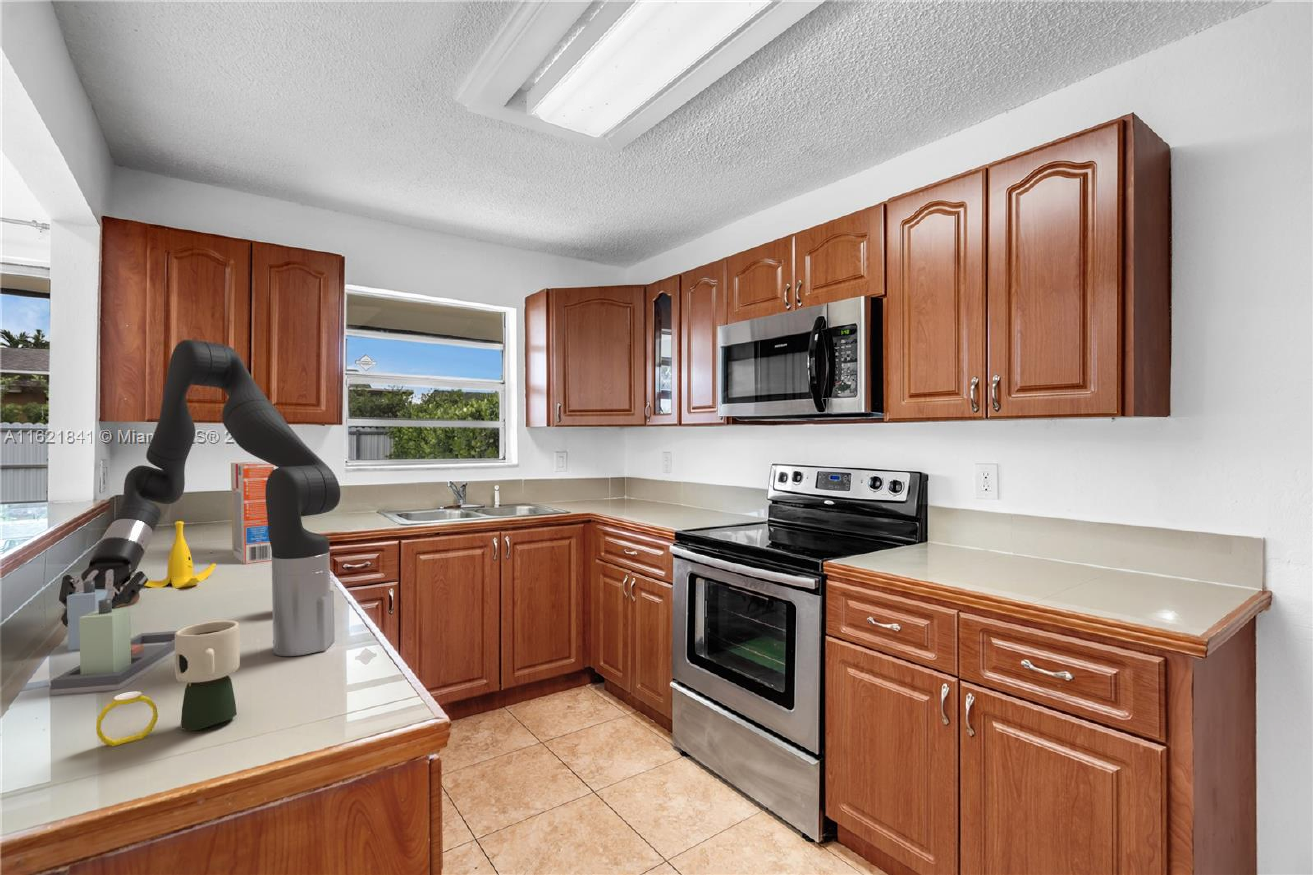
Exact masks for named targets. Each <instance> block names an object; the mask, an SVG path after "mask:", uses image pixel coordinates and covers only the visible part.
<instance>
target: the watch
mask: <svg viewBox="0 0 1313 875" xmlns="http://www.w3.org/2000/svg"><path fill="white" fill-rule="evenodd" d="M136 702H143V703H146V704H147V705H148V706H149V707H150V708H152V717H151V719H150V722H149V724H148V725H147V727H145V728H144V729H143V730H142V731H141V732H140V733H137V734H133V735H130V736H126V737H121V738H118V739H113V738H110V737H108V736H106V735H105V734H104V733H103V731H102V722H103V720H104V718H105V717H106V715H107V714H108V712H109V711H111V710H113V709H114V708H115V707H116V706H124V705H129V704H133V703H136ZM158 717H159V715H158V708H157V705H156V703H155V702H154V701H153V700H152V699H151V698H150V697H148V696H145V695H142V692H141V691H129V692H124V693H120V694H117V695H115V696H114V698H113V700H112V702H110V703H108V704H107V705H105V706H104V708H103V709H102V710H101V712H100V714H99V715H98V717H97V719H96V727H95V730H96V731H95V732H96V735H97V737H98V738H99V739H100V741H101V742H102V743H103V744H106V745H108V746H111V747H116V746H119V745H122V744H126V743H130V742H135V741H139V740H143V739H145V737H146V736H148V735H149V733H151V731H153V729H154V727H155V725H156V724H157V721H158Z"/></svg>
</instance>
